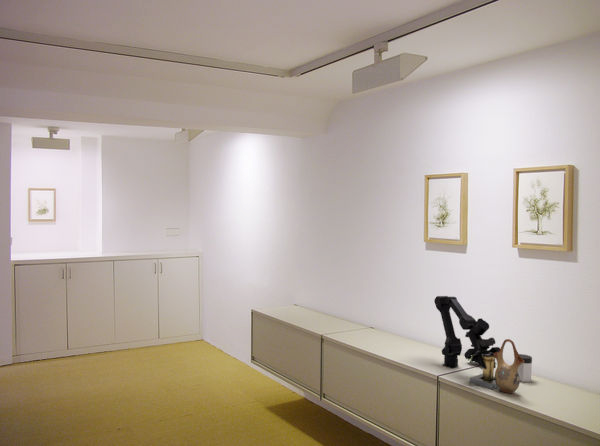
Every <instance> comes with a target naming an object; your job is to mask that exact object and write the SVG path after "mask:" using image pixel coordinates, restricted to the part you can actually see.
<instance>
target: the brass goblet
mask: <svg viewBox="0 0 600 446" xmlns="http://www.w3.org/2000/svg"><path fill="white" fill-rule="evenodd" d="M482 358H483V361H484V363H485V365H486V369H484V368H483V367H482V374H483V377H482V379H483V380H486V381H493V377H494V374H495V372H494V371H495V370H494V369H495V368H494V360H495V361H496V358H495V357H494V356H491V355H483V356H482Z"/></svg>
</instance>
